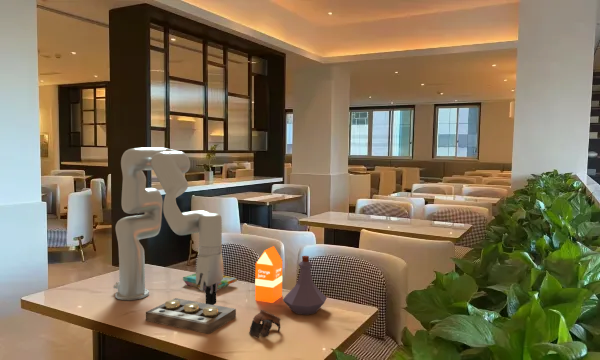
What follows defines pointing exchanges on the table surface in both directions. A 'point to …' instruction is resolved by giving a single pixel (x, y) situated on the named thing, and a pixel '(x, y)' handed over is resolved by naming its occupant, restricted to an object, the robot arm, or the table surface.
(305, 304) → the flask
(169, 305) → the button
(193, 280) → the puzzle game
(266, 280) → the orange juice
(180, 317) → the button board
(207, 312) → the button
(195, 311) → the button middle
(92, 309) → the table surface
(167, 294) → the table surface
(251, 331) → the brown goggles
